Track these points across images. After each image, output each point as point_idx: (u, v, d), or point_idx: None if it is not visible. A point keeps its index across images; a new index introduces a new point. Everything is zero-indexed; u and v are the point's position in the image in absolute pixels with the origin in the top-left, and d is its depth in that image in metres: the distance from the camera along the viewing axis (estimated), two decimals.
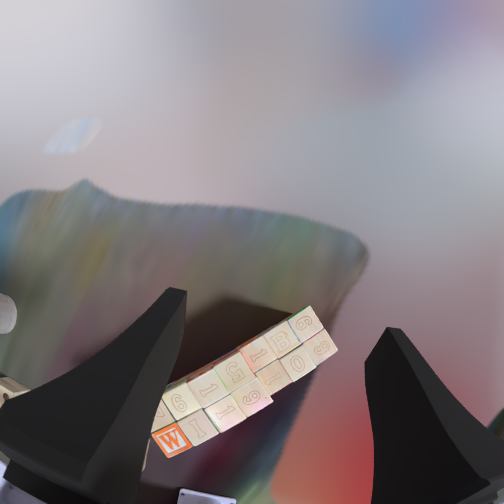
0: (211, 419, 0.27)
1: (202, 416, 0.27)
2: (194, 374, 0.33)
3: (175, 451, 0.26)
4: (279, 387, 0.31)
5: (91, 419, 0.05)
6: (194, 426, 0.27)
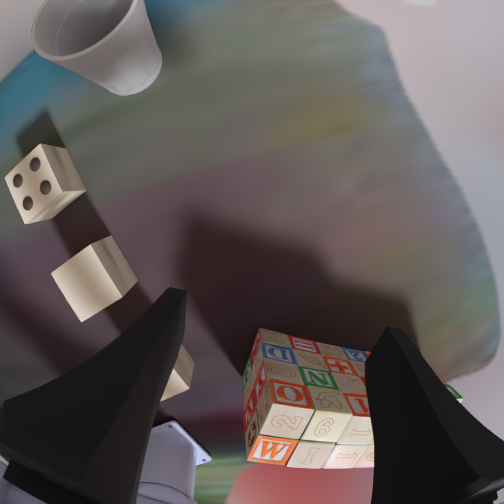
0: (329, 455, 0.20)
1: (327, 450, 0.20)
2: (338, 378, 0.24)
3: (262, 459, 0.20)
4: None
5: (91, 419, 0.05)
6: (310, 453, 0.20)
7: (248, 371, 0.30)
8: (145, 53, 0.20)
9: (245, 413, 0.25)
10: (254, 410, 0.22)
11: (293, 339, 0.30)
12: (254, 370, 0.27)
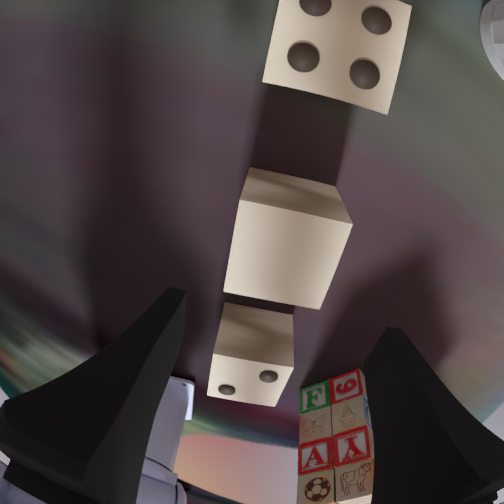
0: None
1: None
2: None
3: None
4: None
5: (91, 419, 0.05)
6: None
7: (318, 398, 0.26)
8: None
9: (302, 448, 0.22)
10: (330, 468, 0.19)
11: None
12: (339, 417, 0.23)
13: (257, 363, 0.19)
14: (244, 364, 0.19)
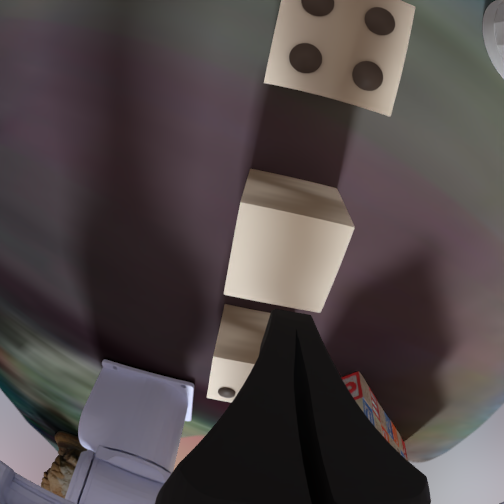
0: None
1: None
2: None
3: None
4: None
5: (283, 462, 0.05)
6: None
7: None
8: None
9: None
10: None
11: (370, 394, 0.27)
12: None
13: None
14: (244, 367, 0.19)
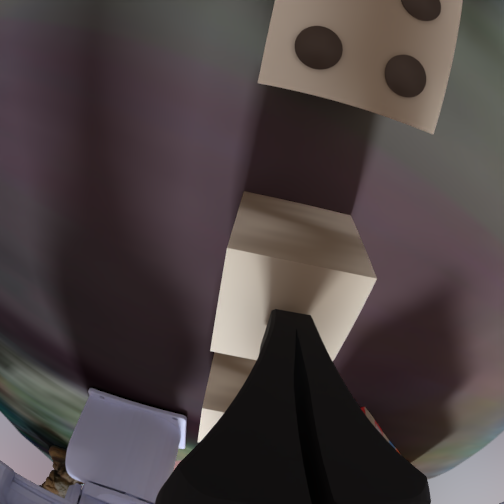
0: None
1: None
2: None
3: None
4: None
5: (283, 462, 0.05)
6: None
7: None
8: None
9: None
10: None
11: (376, 427, 0.23)
12: None
13: None
14: None
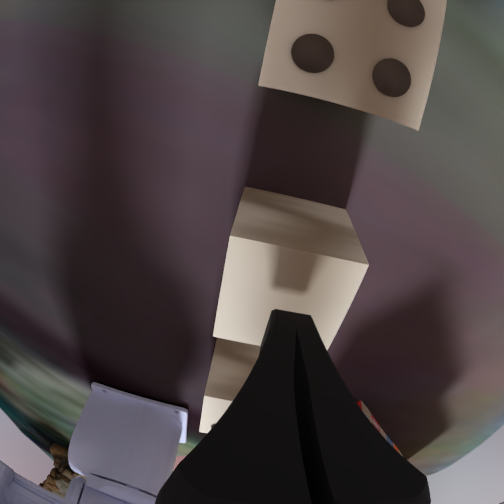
0: None
1: None
2: None
3: None
4: None
5: (283, 462, 0.05)
6: None
7: None
8: None
9: None
10: None
11: (372, 421, 0.24)
12: None
13: None
14: None
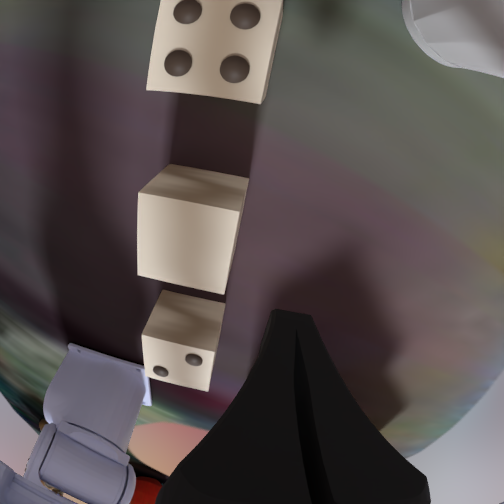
0: None
1: None
2: None
3: None
4: None
5: (283, 462, 0.05)
6: None
7: None
8: None
9: None
10: None
11: None
12: None
13: (180, 345, 0.20)
14: (169, 346, 0.20)
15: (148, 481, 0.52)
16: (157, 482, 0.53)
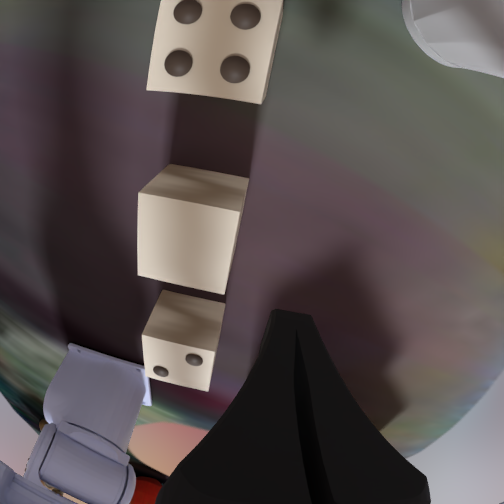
0: None
1: None
2: None
3: None
4: None
5: (283, 462, 0.05)
6: None
7: None
8: None
9: None
10: None
11: None
12: None
13: (181, 345, 0.20)
14: (169, 346, 0.20)
15: (148, 481, 0.52)
16: (157, 482, 0.53)
